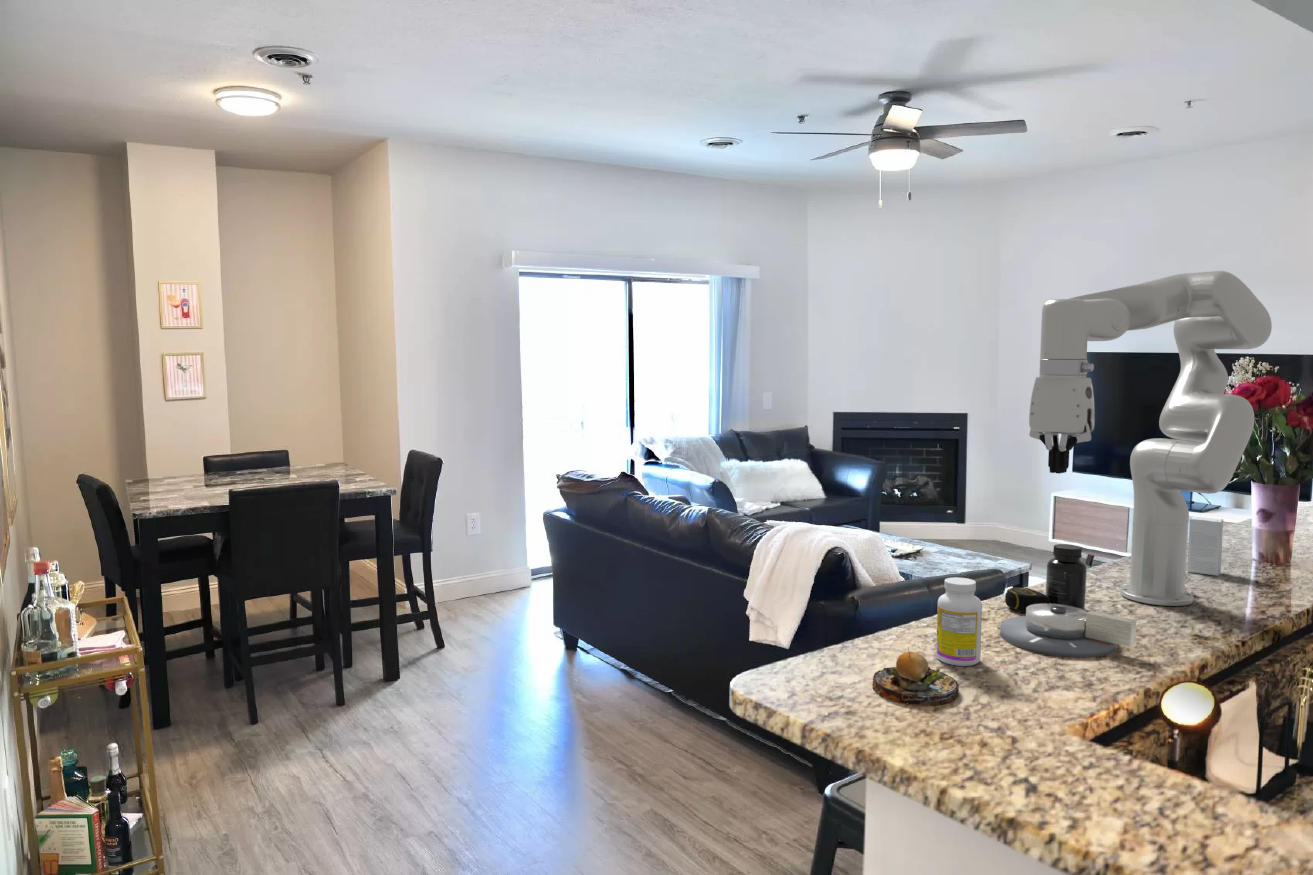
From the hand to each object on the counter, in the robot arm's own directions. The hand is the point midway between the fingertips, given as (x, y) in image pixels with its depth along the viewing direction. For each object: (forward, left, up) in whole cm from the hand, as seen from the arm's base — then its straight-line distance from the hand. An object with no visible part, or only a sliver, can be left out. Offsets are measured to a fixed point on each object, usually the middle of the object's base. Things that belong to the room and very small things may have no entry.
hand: (1058, 472), depth 160 cm
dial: (+10, +9, -25) cm, 29 cm away
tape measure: (-3, -7, -28) cm, 28 cm away
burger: (+48, +4, -28) cm, 56 cm away
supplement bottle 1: (+32, +1, -27) cm, 42 cm away
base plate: (+10, +6, -27) cm, 30 cm away
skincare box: (-60, +4, -27) cm, 66 cm away
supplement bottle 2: (-9, -2, -27) cm, 29 cm away
